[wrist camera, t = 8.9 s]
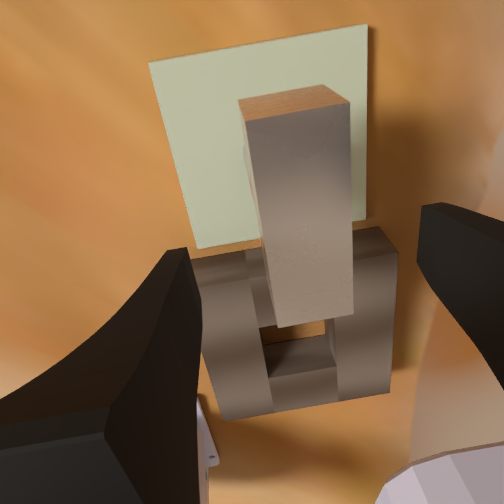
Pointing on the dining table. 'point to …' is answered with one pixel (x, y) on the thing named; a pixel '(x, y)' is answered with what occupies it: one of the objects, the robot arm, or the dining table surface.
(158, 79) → the pad
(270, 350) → the block
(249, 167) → the t-key
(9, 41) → the dining table surface
